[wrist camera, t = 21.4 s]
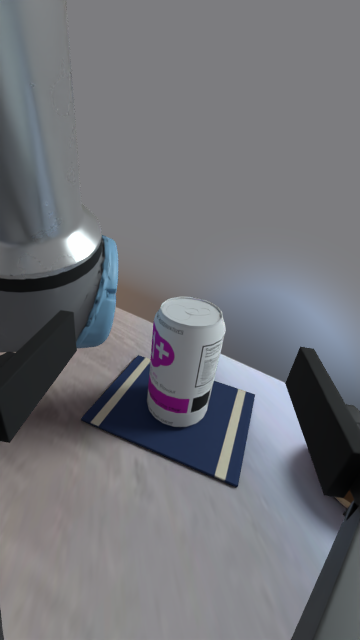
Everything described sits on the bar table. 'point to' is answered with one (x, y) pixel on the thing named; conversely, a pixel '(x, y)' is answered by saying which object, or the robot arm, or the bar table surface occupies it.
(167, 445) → the tea towel
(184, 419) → the white soda can
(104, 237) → the robot arm
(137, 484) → the bar table surface
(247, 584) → the bar table surface
